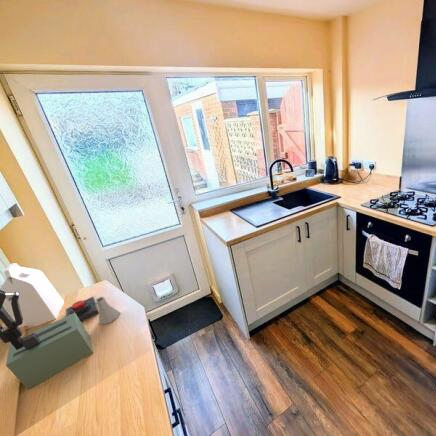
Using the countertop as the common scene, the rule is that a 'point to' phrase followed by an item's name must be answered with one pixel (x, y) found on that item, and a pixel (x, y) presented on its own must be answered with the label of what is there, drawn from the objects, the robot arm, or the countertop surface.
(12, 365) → the toaster
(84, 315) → the block
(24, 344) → the toaster slider
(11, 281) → the milk
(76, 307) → the power button
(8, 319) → the robot arm
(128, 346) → the countertop surface
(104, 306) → the flask
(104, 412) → the countertop surface
